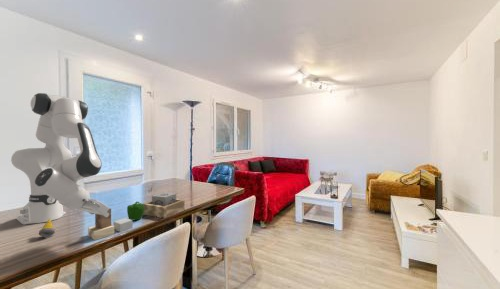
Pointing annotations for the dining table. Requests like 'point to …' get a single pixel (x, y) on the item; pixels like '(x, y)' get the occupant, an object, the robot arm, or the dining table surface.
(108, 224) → the walnut block
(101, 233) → the maple block
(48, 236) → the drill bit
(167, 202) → the icon cube
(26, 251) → the dining table surface
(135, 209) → the bell pepper
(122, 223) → the grey painted block
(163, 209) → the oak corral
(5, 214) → the dining table surface
